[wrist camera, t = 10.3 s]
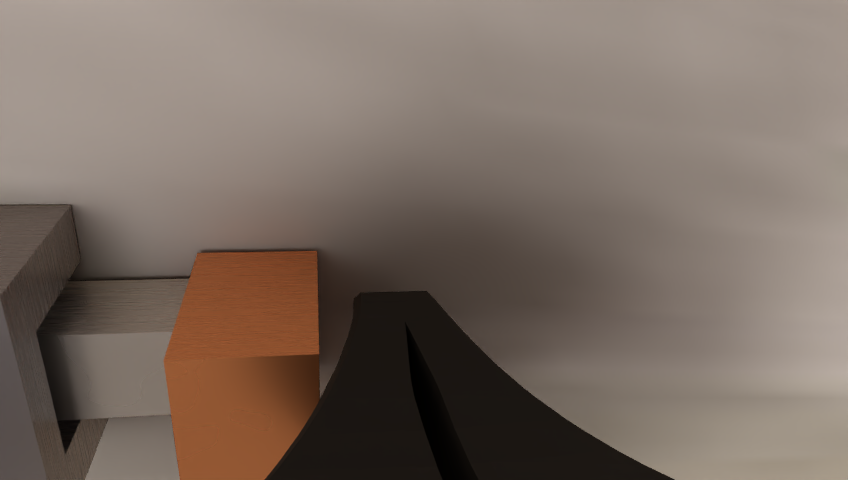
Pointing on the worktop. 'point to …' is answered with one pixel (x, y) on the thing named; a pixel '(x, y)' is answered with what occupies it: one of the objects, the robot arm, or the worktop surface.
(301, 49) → the worktop surface
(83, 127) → the worktop surface
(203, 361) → the pin
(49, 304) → the block
